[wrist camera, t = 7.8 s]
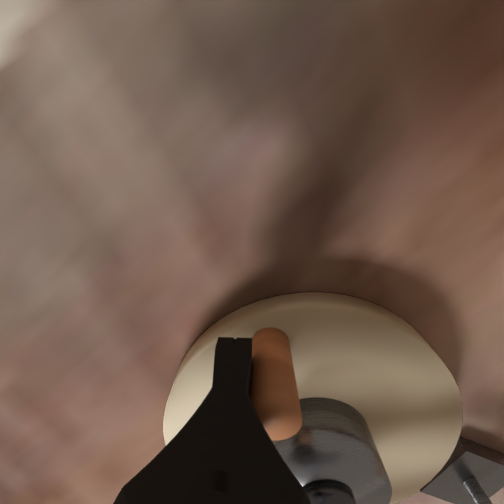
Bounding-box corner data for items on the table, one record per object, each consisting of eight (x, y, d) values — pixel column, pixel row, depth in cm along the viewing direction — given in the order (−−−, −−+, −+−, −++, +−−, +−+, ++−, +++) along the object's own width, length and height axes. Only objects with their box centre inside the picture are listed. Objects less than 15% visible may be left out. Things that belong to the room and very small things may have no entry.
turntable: (453, 461, 19) (535, 594, 14) (230, 508, 21) (221, 639, 16) (418, 251, 14) (529, 326, 8) (124, 342, 16) (53, 451, 10)
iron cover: (379, 459, 16) (410, 537, 13) (279, 483, 17) (285, 561, 14) (353, 383, 14) (381, 453, 11) (241, 415, 15) (237, 488, 12)
